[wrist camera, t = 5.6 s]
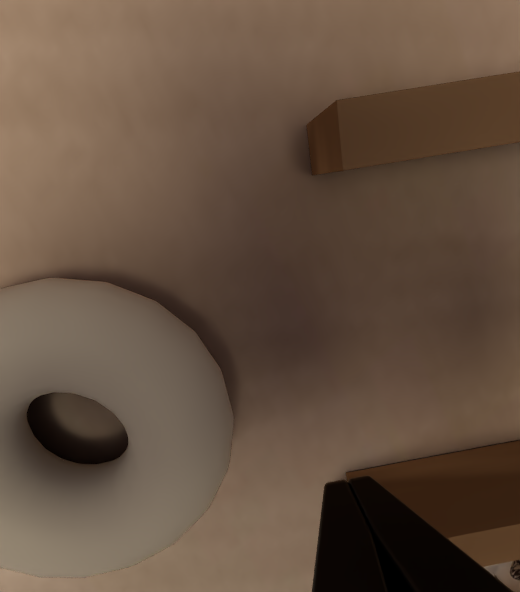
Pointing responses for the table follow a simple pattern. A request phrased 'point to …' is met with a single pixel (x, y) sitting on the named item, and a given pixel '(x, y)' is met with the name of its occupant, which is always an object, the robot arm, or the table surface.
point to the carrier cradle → (412, 145)
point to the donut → (128, 409)
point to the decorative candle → (507, 574)
